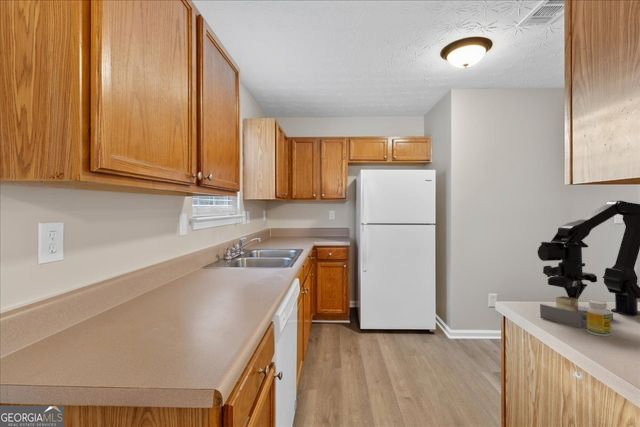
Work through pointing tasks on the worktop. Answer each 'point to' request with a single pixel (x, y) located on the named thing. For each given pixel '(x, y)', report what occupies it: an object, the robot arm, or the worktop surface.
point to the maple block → (567, 303)
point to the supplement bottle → (598, 318)
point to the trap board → (566, 315)
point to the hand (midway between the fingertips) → (573, 303)
